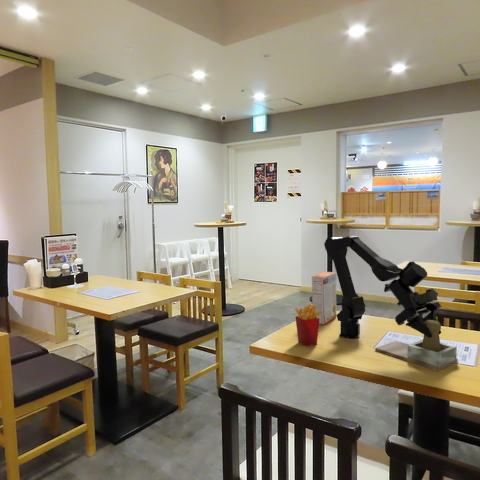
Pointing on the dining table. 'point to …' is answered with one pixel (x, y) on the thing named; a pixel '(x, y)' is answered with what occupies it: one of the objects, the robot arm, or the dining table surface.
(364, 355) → the dining table surface
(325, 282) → the cracker box
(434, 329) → the cork
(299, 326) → the french fries
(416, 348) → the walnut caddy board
